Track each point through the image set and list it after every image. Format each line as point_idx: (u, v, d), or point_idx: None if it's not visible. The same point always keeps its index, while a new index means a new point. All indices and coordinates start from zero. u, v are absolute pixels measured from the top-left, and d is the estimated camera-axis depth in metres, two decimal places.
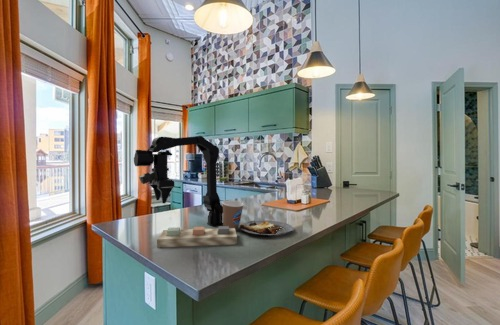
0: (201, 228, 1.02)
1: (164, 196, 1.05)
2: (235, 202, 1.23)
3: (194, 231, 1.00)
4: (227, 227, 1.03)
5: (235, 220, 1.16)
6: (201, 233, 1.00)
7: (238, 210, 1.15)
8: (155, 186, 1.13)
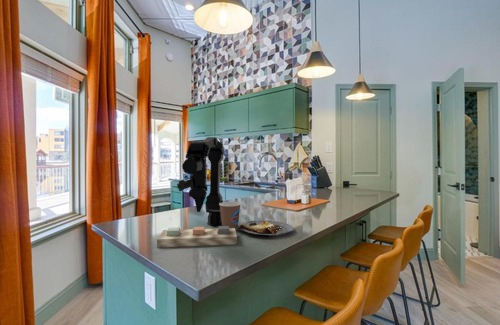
0: (201, 228, 1.02)
1: (198, 205, 0.99)
2: (232, 203, 1.24)
3: (194, 231, 1.00)
4: (227, 227, 1.03)
5: (234, 220, 1.16)
6: (201, 233, 1.00)
7: (236, 209, 1.16)
8: None
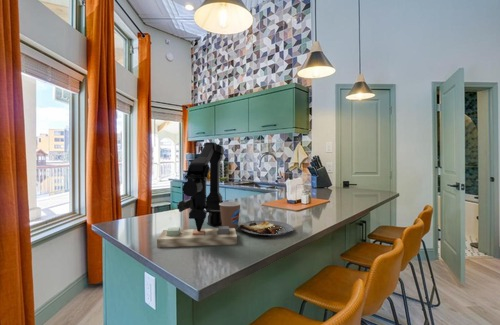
0: (201, 231, 1.02)
1: (198, 224, 1.01)
2: (232, 203, 1.24)
3: (194, 234, 1.00)
4: (227, 227, 1.03)
5: (234, 220, 1.16)
6: None
7: (236, 209, 1.16)
8: None
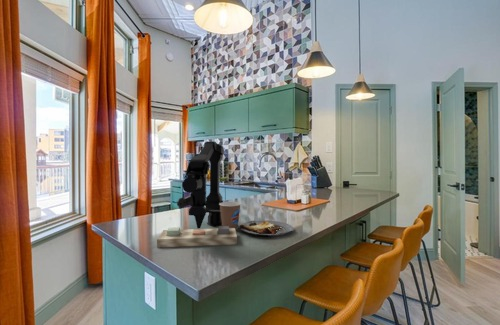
0: (201, 231, 1.02)
1: (198, 221, 1.01)
2: (232, 203, 1.24)
3: (194, 234, 1.00)
4: (227, 227, 1.03)
5: (234, 220, 1.16)
6: None
7: (236, 209, 1.16)
8: None
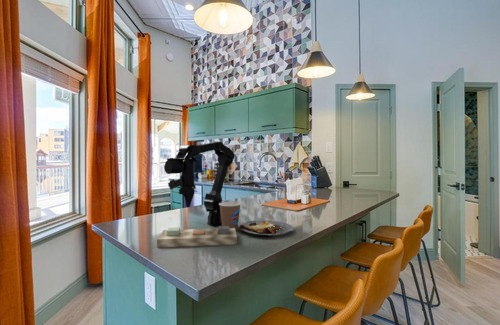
0: (201, 231, 1.02)
1: (187, 201, 1.12)
2: (232, 203, 1.24)
3: (194, 234, 1.00)
4: (227, 227, 1.03)
5: (234, 220, 1.16)
6: None
7: (236, 209, 1.16)
8: None
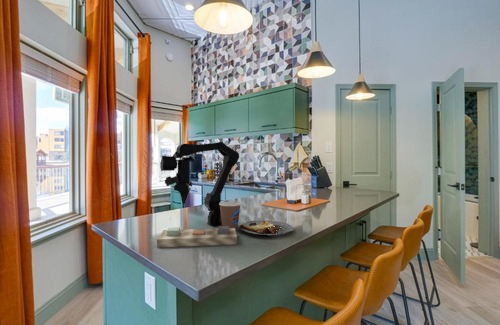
0: (201, 231, 1.02)
1: (183, 197, 1.18)
2: (232, 203, 1.24)
3: (194, 234, 1.00)
4: (227, 227, 1.03)
5: (234, 220, 1.16)
6: None
7: (236, 209, 1.16)
8: None
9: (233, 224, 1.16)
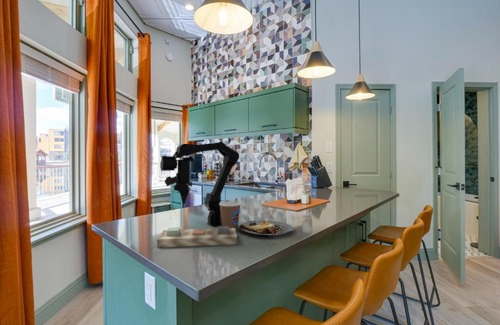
0: (201, 231, 1.02)
1: (183, 197, 1.18)
2: (232, 203, 1.24)
3: (194, 234, 1.00)
4: (227, 227, 1.03)
5: (234, 220, 1.16)
6: None
7: (236, 209, 1.16)
8: None
9: (233, 224, 1.16)
